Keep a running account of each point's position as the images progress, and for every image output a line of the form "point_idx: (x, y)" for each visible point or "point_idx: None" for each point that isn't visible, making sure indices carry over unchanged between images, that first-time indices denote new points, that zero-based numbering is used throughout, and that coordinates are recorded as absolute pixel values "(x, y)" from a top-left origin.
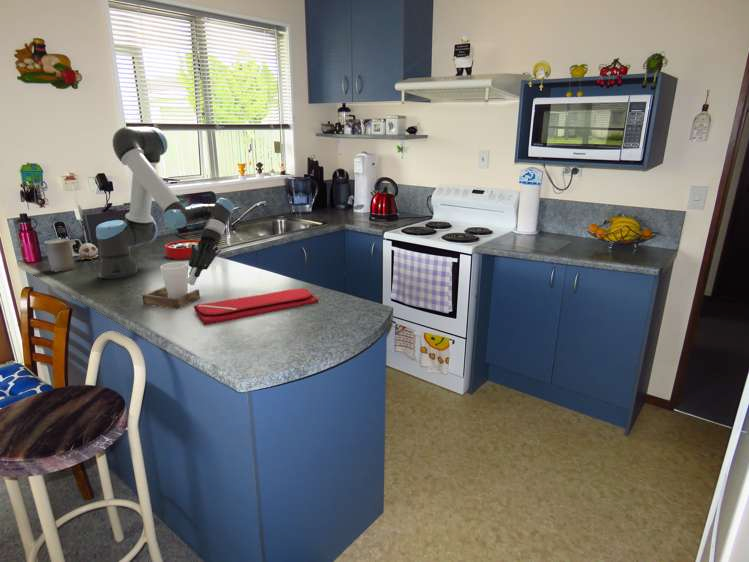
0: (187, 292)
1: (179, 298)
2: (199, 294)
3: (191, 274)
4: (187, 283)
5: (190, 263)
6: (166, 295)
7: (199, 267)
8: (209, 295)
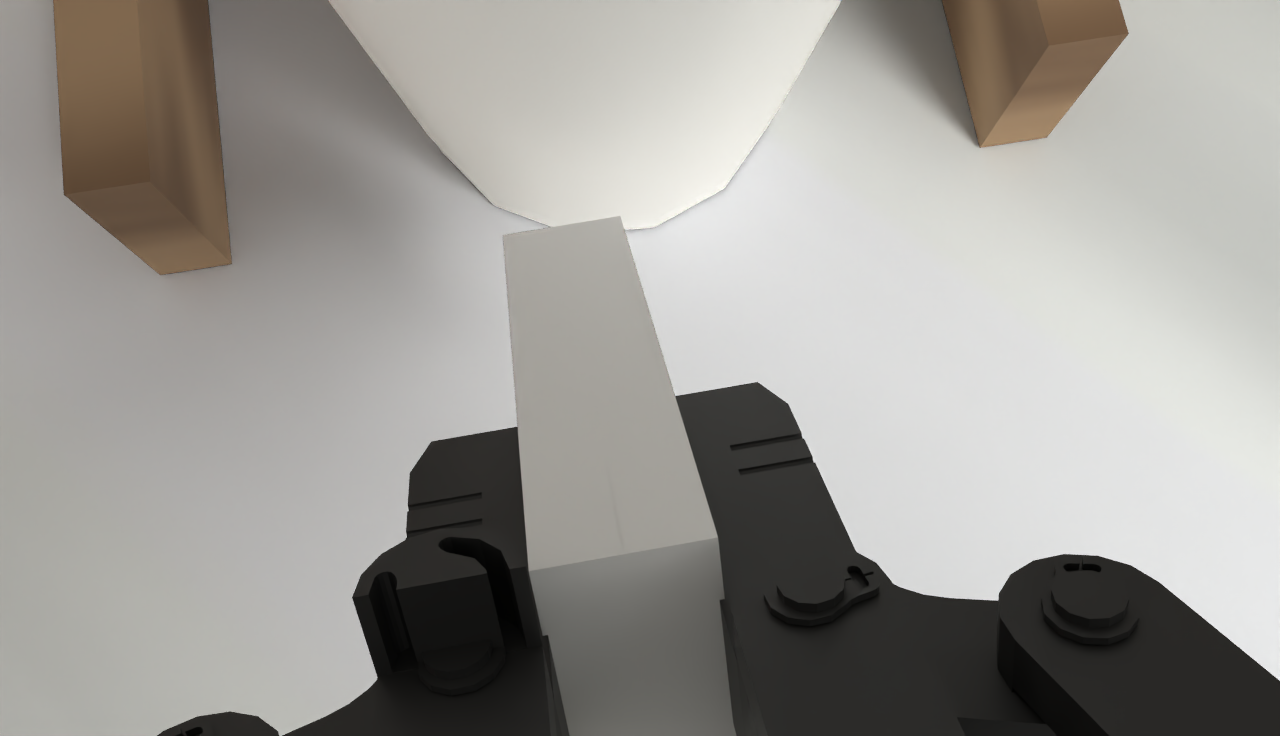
0: (462, 163)
1: None
2: (117, 234)
3: (596, 356)
4: (383, 54)
5: (1073, 631)
6: (959, 36)
7: (395, 663)
8: (125, 535)
